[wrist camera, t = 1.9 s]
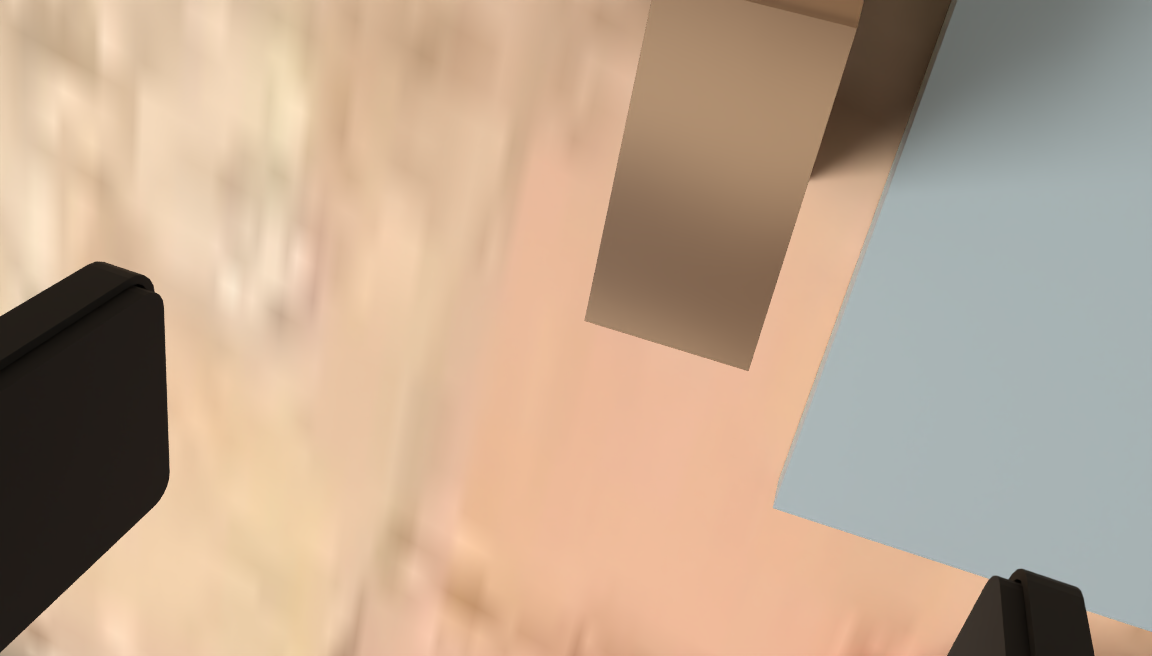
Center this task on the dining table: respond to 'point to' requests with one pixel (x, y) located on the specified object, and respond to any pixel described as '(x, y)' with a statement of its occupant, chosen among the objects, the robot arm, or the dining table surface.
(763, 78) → the walnut slab
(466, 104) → the dining table surface
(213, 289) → the dining table surface
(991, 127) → the board
